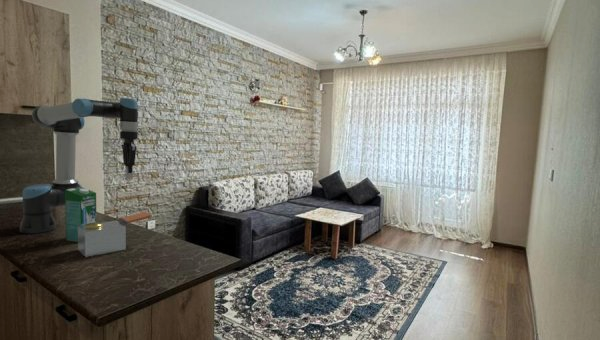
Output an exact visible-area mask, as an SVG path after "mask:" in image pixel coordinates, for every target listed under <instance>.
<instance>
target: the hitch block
mask: <svg viewBox="0 0 600 340" xmlns="http://www.w3.org/2000/svg"><path fill="white" fill-rule="evenodd" d="M101 223H103V227H101V228H98V229H86V225H80V226H78V242H77V251H79V252H80V253H81V254H82V256H83V257H84V256H85V258H90V257H94V255H95V256H99V255H104V254H105V255H106V254H110V253H115V252H120V251H124V250H126V249H127V246H126V244H127V242H126V241H127V240H126V238H127V235H126V234H127V233H126V232H127V231H126V229H127V228H126V227H127V226H126V224H125V225H124V223H123V222H121V221H120V220H119V221H118V220H110V221H102V222H101ZM89 256H90V257H89Z"/></svg>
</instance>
